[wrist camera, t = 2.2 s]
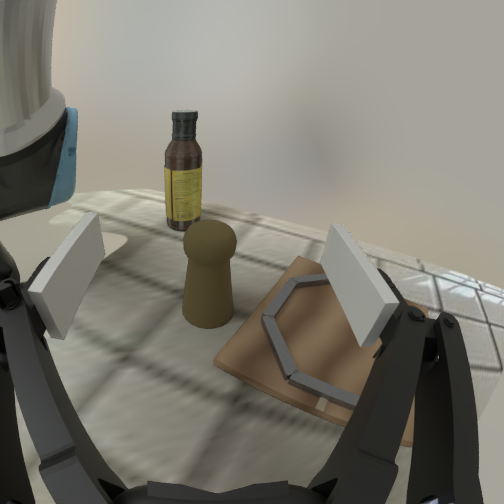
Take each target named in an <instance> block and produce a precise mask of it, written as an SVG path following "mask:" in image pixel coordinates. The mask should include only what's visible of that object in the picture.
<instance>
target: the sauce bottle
mask: <svg viewBox="0 0 504 504" xmlns="http://www.w3.org/2000/svg"><path fill="white" fill-rule="evenodd" d="M197 118H198V112H197V111H194V110H176V111H173V112H172V120H173V133H172V141H171V142H170V144H169V145H168V147H167V149H166V151H165V166H164V171H165V204H166V216H167V224H168V226H169V227H171V228H172V229H175V230H187V229H188V227H189V226H190V225H192V224H193V223H196V222H198V221H200V214H201V191H202V151H201V148H200V146H199V145H198V143H197V142H196V139H195V138H196V121H197Z"/></svg>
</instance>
